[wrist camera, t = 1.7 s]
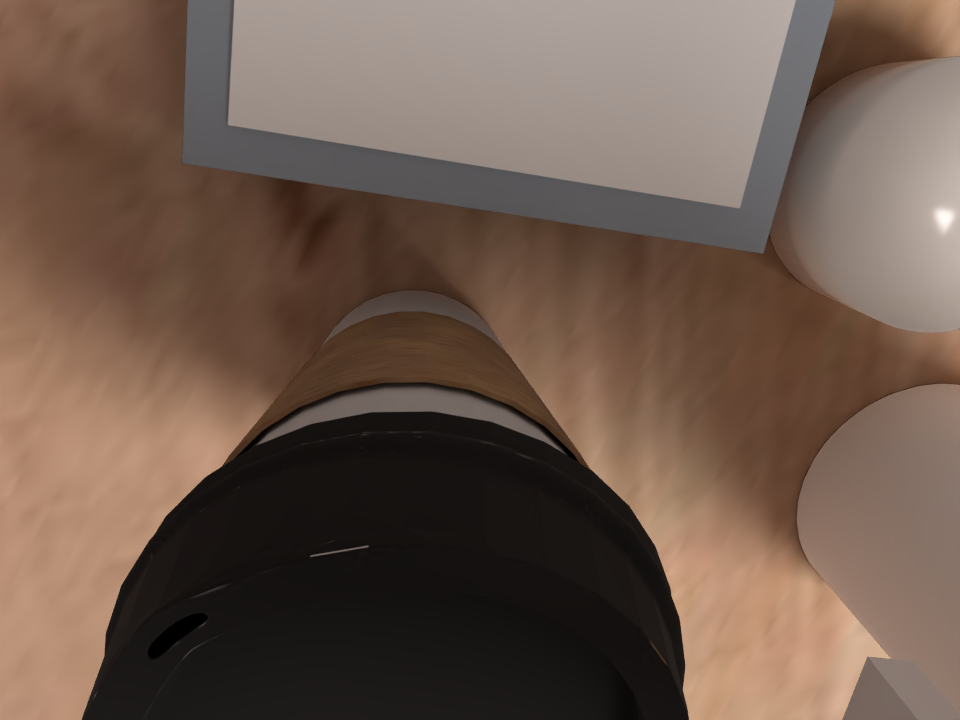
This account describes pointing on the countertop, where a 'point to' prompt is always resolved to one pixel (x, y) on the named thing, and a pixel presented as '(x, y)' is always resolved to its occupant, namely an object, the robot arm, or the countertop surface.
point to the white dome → (879, 195)
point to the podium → (515, 104)
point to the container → (894, 526)
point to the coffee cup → (398, 554)
